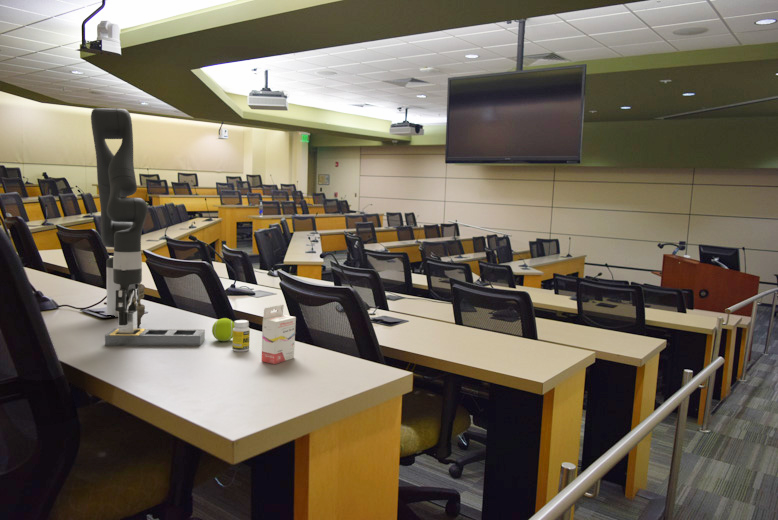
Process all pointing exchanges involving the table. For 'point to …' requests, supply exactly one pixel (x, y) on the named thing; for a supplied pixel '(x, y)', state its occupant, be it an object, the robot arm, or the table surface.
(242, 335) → the supplement bottle
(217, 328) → the tennis ball
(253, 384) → the table surface
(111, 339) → the grey long flat frame
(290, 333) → the ink cartridge box
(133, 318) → the brushed metal square block
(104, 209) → the robot arm
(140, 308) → the beige stone carving
